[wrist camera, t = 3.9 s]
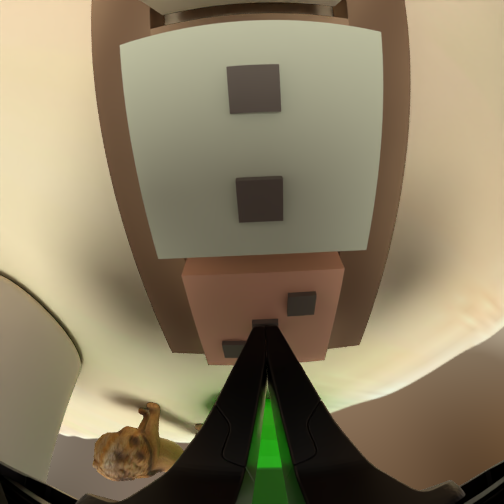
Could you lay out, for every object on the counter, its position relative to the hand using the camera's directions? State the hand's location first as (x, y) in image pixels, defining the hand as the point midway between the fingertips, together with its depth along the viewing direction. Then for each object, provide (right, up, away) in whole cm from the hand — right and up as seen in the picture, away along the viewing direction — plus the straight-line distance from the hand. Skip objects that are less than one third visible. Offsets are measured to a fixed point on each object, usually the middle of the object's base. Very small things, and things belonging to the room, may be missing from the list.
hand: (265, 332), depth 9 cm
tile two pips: (0, +7, -2) cm, 7 cm away
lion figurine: (-9, -14, +14) cm, 22 cm away
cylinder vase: (-20, -3, +7) cm, 21 cm away
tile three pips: (0, +2, +3) cm, 3 cm away
